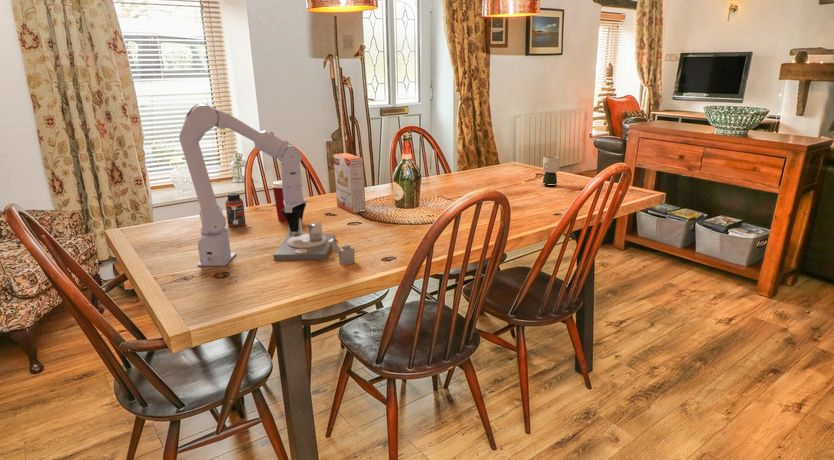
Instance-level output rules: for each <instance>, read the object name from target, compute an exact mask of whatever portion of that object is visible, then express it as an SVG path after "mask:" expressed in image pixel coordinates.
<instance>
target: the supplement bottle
mask: <svg viewBox="0 0 834 460" xmlns="http://www.w3.org/2000/svg"><path fill="white" fill-rule="evenodd" d="M240 196H241V195H240V192H230V193H227V199H226V200H225V210H226V221H227V225H228V226H229V227H232V228H238V227H243V226H244V225H246V213H245V207H244V205H245V204H244V201H243V199H242V198H241V197H240Z"/></svg>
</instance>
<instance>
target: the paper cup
mask: <svg viewBox="0 0 834 460" xmlns="http://www.w3.org/2000/svg"><path fill="white" fill-rule="evenodd" d="M271 187H272V189H273V195H274V197H273V198H274V203H275V208H276V214H277V220H278V221H279V222H283V223H284V222H285V223H286V222H287V220H286V218H285V216H284V215H283V214H282V210H283V209H285V208H284V203H283V200H284V197H283V187H282V179H281V180H275V181H273V182H272V185H271ZM287 223H288V222H287Z"/></svg>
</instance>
